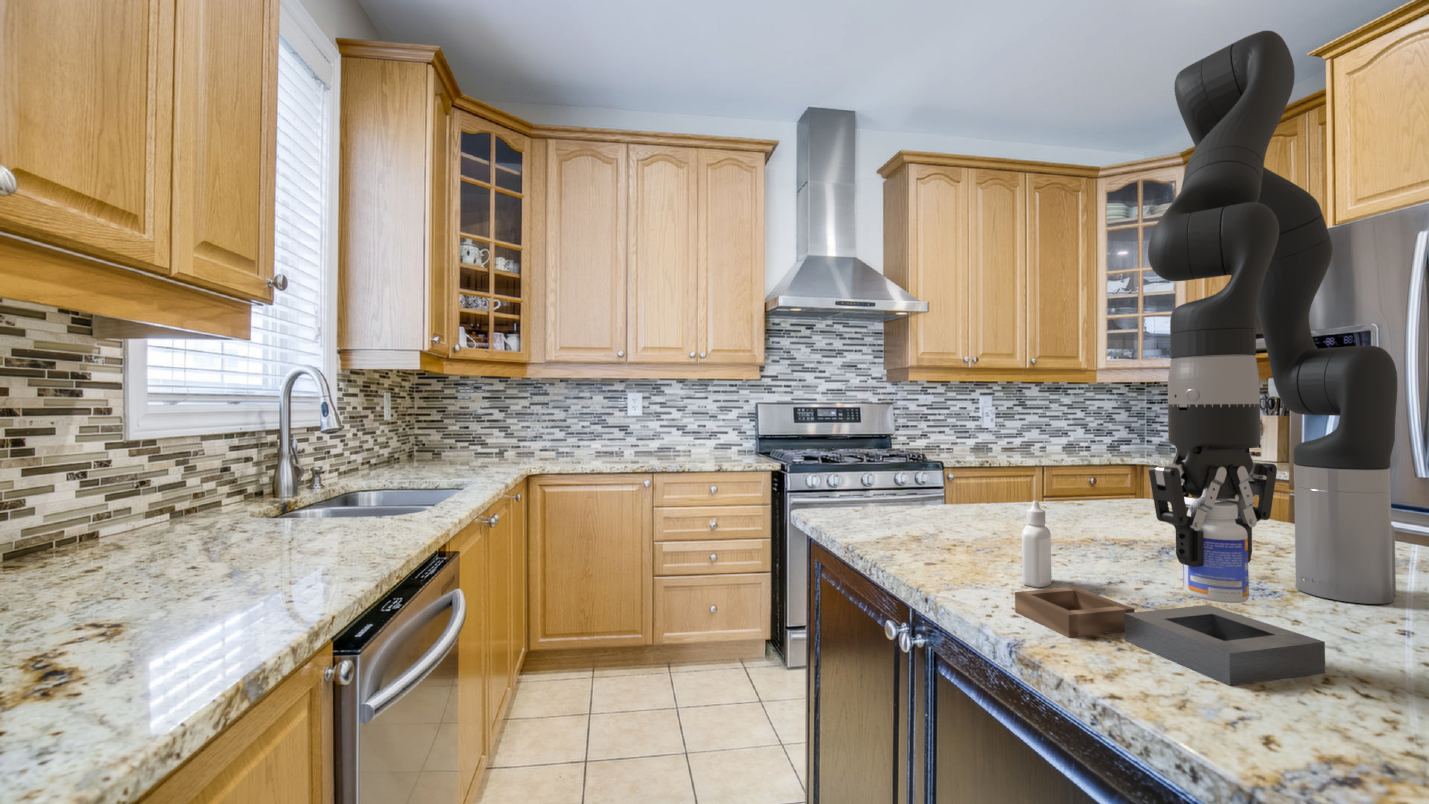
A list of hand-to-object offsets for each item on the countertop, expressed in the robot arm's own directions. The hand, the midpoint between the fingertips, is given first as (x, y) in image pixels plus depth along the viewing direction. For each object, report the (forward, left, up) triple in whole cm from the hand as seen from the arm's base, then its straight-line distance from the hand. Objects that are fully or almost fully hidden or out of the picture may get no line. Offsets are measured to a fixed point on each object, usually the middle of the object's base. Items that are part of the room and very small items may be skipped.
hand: (1214, 562), depth 65 cm
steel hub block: (0, 0, -10) cm, 10 cm away
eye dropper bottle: (-1, -27, -10) cm, 29 cm away
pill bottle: (0, 0, -4) cm, 4 cm away
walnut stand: (+6, -12, -10) cm, 17 cm away
